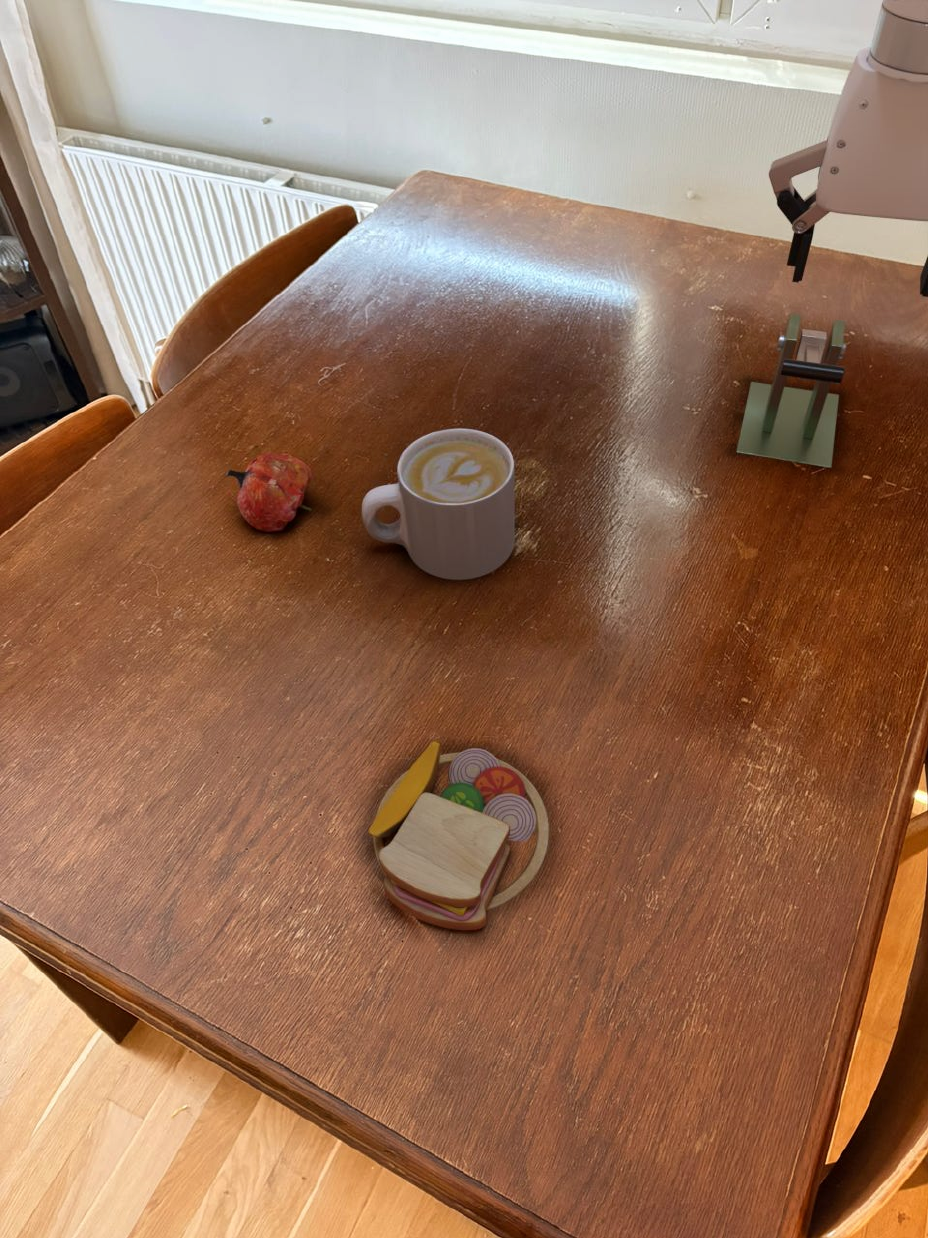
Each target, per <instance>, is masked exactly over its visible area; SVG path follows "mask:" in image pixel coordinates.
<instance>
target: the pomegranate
mask: <svg viewBox="0 0 928 1238" xmlns="http://www.w3.org/2000/svg"><path fill="white" fill-rule="evenodd" d="M229 476H230V477H234V478H236V480H237V482H238V486H239V487H238V492H237V496H236V505H237V508H238V510H239V512H240V514H241V516H242V517H243V519H244V520H245V521H246V522H247V524H249V525H250V526H252V527H253V528H254V529H256V530H258V531H262V532H266V533H271V532H280V531H282V530H284V529H285V527H287V526H288V523H290V522H292V521H293V520H294V519H295V517H296V514H297V511H298V508H300V509H302V510H304V511H308V512H309V511H310V512H311V511H312V508H310V507H307V506H306V505H304V504H303V502H304V499H305V493H306V490H307V488H308V486H309V484H310V482H311V481H312V479H313V473H312V471H311V468H310V467H309V466H308V465H307V464H306V463H305V462H303V461H302V460H300V459H299V458H296V457H295V456H292V455H290V454H287V453H266V454H262V455H259V456H256V457H255V458H254V459H253V460H251V461H250V463H249V464H248V465H247V467H246V470H245V471H238V470H232V468H229V470H228V471H227V473H226V475H225V476H224V478H227V477H229Z"/></svg>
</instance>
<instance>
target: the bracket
mask: <svg viewBox="0 0 928 1238" xmlns="http://www.w3.org/2000/svg"><path fill="white" fill-rule="evenodd" d="M801 319H802V315H801V314H795V313H790V314H789V318H788V321H787V325H786V328H785V329H786V330H785V333H784V334H779V337H778V341H777V344H776V345H777V346H776V350H777V351H780V352H779V356H778V359H777V362H776V363H777V364H776V367H775V372H774V374H773V379H772V382H771V384H769V383H762V382H757V381H751V382H750V385H749V389H748V395H747V400H746V404H745V409H744V413H743V418H742V423H741V428H740V432H739V437H738V441H737V442H738V443H737V447H736V450H735V452H736V453H738V454H744V455H751V456H757V457H760V458H761V457H763V458H768V459H774V460H779V461H784V462H785V461H786V462H791V463H798V464H804V465H809V466H816V467H822V468H828V469H832V467H833V466H832V465H833V455H834V447H835V438H836V427H837V419H838V411H839V400H840V395H839V394H836V393H829V391H830V387H831V384H832V383H829V382H822V381H815V383H814V386H813V389H812V390H809V389H802V388H795V387H788V386H786V382H787V379H788V377H787V376H781V375H780V372H781V367H782V363H783V360H784V358H785V359H792V360H793V357H794V353H795V350H796V346H797V342H798V338H799V331H800V325H801ZM845 328H846V320H841V319H834V320H833V323H832V327H831V330H830V333H829V337H828V338H827V342H826V345H825V348H824V352H823V356H822V359H821V364H828V365H835V366H838V363H839V360H840V359H841V360H843V359H844V357H845V354H846V350H847V344H848V343H846V342H844V337H845Z"/></svg>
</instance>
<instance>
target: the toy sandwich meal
mask: <svg viewBox="0 0 928 1238" xmlns="http://www.w3.org/2000/svg"><path fill="white" fill-rule="evenodd" d="M441 748H442V747H441V744H440V743H439V742H437V741H434V740H433V741H432V742H430V743H429V745H428V746H427V747H426V748H425V750H423V752H422V754H421V755H420V756H419V757H418V758H417V759H416V760H415V761H414V762H413V763H412V765H411V766H410V768H409V769H408V770H406V771H405V772H404V773H403V774H401V775H400V776H399V777H398V778H397V779H396V780H395V781H394V782H393V784H392V785H390V787H389V788H388V790H387V791H386V792H385V794H384V796H383V797H382V799H381V801H380V803H379V805H378V808H377V811H376V813H375V818H374V819H373V821H372V823H371V825H370V827H369V828H368V834H369V835H370V836H372V837H373V838H372V839H373V841H372V842H373V849H374V853H375V857H376V860H377V863H378V864H379V867H380V869H381V872H382V873H383V875H384V878H383V882H382V883H383V891H384V893H385V896H386V898H388V899H389V900H390V901H391V903H393V904H394V905H395V906H396V907H397V908H399V909H400V910H402V911H403V912H405V913H406V914H408V915H409V916H412V918H413V917H414V919H415V918H416V919H418V920H420V921H423V922H425V923H428V924H430V925H434V926H437V927H440V928H444V929H451V930H457V931H458V930H459V931H477V930H481V929H483V928H484V927H485V926H486V925H487V911H489V910H492V909H495V908H497V907H499V906H501V905H504V904H505V903H507V902H509V901H510V900H512V899H514V898H515V897H516V896H517V895H519V894H520V893H521V892H522V891H524V890H525V888H526V887H527V886H528V885H529V884H530V883H531V882H532V881H533V879H535V877H536V875H537V874H538V873H539V870H540V868H541V867H542V864H543V862H544V860H545V857H546V854H547V851H548V846H549V839H550V823H549V818H548V813H547V810H546V806H545V803H544V801H543V799H542V797H541V795H540V794H539V792H538V790H537V789H536V787H535V786H534V784H532V782H531V781H530V780H529V779H528V778H527V777H526V775H524V774H523V773H522V772H521V771H519V770H518V769H517V768H515V767H514V766H512V765H510V764H509V763H507V762H505V761H503V760H501V759H498V758H496V757H495V756H494V755H493V754H492V753H491V752H490V751H488V750H486V749H482V748H476V747H471V748H468V749H465V750H463V751H461V752H451V753H444V754H441V750H442V749H441ZM447 764H450V765H449V768H448V780H449V784H450V785H448V786H447V787H445V788H444V789H443V790H442V792H440V794H439V795H437V794H434V793H433V791H434V789H435V787H436V783H437V778H438V772H439V766H443V765H447ZM526 797H527V799H526ZM535 831H537V834H536V842H535V847H534V851H533V853H532V857H531V858H530V860H529V862H528V864H527V866H526V867H525V869H524V870H523V872H522V873H521V874H520V875H519V877H518V878H516V879H515V881H513V882H512V883H511V884H510V885H508V886H507V887H506V888H504V889H502V890H501V891H499V892H497V890H498V887H499V884H500V883H501V880H502V878H503V875H504V874H505V873H504V872H505V870H506V868H507V866H508V863H509V860H510V858H511V854H512V847H511V846H510V845H509V844H508V843H507V842H508V841H514V842H518V843H524V842H527V841H528V840H529V839H530V838H531V837H532V836H533V835H534V833H535ZM396 832H397V833H396ZM395 833H396V834H395ZM394 834H395V835H394ZM393 835H394V837H393V839H392V840H391V841H390V843H388V844H387V845H386V840H385V838H389V837H391V836H393ZM496 892H497V893H496ZM495 893H496V894H495Z"/></svg>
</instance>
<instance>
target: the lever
mask: <svg viewBox="0 0 928 1238" xmlns="http://www.w3.org/2000/svg"><path fill="white" fill-rule="evenodd" d="M827 342H828V335H827V332H826V331H821V330H814V329H807V328H802V329H801V333H800V337H799V340H798V345H797V347H796V353H795V359H793V358H792V359H785V358H784V360H783V363H782V367H781V372H780V375H781V376H787V378H788V377H789V378H795V379H801V380H809V381H815V382H816V381H822V382H829V383H831V384H835V385H836V384H837V385H840V384H841V383H842V381H843V378H844V374H845V366H841V365H837V366H835V365H828V364H821V362H822V359H823V356H824V353H825V349H826V346H827Z"/></svg>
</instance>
